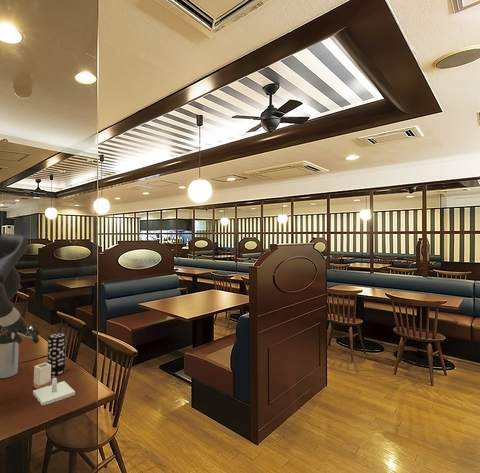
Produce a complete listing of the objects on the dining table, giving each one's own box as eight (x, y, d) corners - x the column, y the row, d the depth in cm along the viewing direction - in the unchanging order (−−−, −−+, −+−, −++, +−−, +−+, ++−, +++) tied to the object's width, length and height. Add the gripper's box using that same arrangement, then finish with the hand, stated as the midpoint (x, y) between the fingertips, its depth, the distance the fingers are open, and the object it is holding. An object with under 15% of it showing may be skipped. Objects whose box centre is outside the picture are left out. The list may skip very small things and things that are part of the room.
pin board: (32, 393, 137) (33, 377, 137) (64, 384, 147) (64, 368, 147) (42, 406, 128) (42, 388, 128) (74, 394, 138) (75, 378, 138)
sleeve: (33, 387, 143) (34, 366, 143) (44, 382, 148) (45, 362, 148) (39, 389, 141) (40, 368, 141) (50, 385, 145) (51, 364, 145)
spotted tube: (44, 377, 152) (45, 338, 152) (49, 370, 160) (51, 333, 160) (62, 376, 155) (63, 337, 155) (67, 369, 163) (68, 332, 163)
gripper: (30, 311, 131) (47, 335, 140) (1, 312, 133) (20, 335, 142) (19, 325, 125) (37, 349, 134) (-12, 325, 126) (9, 349, 136)
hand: (28, 341), depth 138 cm, fingers open, 8 cm apart
